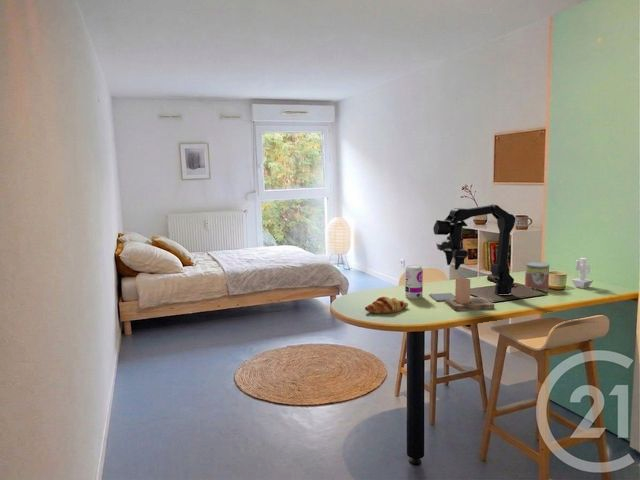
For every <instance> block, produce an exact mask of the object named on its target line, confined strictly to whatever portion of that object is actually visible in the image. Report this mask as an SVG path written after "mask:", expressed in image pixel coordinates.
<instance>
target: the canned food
mask: <svg viewBox="0 0 640 480" xmlns="http://www.w3.org/2000/svg"><path fill="white" fill-rule="evenodd" d="M524 274H525V275H524V287H525V286H527V287H531V288H535V289H534V290H536V289H539V290H538V291H541V290H542V291H543V290H549V288H548V287H549V282H550V264H549V263H546V262H542V261H539V262H538V261H531V262H530V261H529V262H526V263H525V273H524Z"/></svg>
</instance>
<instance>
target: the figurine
mask: <svg viewBox="0 0 640 480" xmlns="http://www.w3.org/2000/svg"><path fill="white" fill-rule="evenodd" d="M587 259H588V258H586V257H579V259H576V260H575V270H576V271H577V272H579V274H578V276H579V277H578V278H577V277H576V278H572V279H571V278H570V279H571V282H572V284H573V285H574V287H576V288H579V289H586V288H590V286H591V285H592V283H593V281H594V280H592V279H588V278H586V275H590V273H591V266H590V263H587V261H588V260H587Z"/></svg>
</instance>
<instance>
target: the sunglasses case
mask: <svg viewBox="0 0 640 480" xmlns="http://www.w3.org/2000/svg"><path fill="white" fill-rule="evenodd" d="M486 279H487V281H491V282H495V283H496V280H495V278H494V277H493V275H492V273H490V274H489V273H488V275H487V277H486ZM514 285H518V284H517V283H516V282H513V284H511V286H514Z"/></svg>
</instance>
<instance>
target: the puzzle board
mask: <svg viewBox="0 0 640 480" xmlns="http://www.w3.org/2000/svg"><path fill="white" fill-rule="evenodd" d="M444 304H446V305H447V306H448V307H450V308H451V310H453V311H472V310H473V311H477V310H495V303H493V302H491V301H490V300H488V299H487V298H485V297H483V296H476V297H470V304H457V303H456V302H455V298H451V299H445V301H444Z"/></svg>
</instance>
